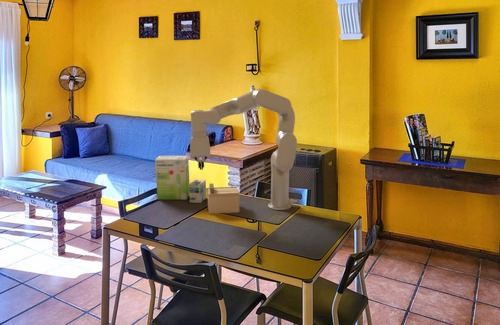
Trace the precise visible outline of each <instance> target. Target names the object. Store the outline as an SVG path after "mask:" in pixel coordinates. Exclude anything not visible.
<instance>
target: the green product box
mask: <svg viewBox="0 0 500 325" xmlns="http://www.w3.org/2000/svg"><path fill="white" fill-rule="evenodd" d="M154 163H155V164H154V165H155V179H156V183H155V184H156V195H157V200H188V199H189V197H190V190H189V184H190V167H189V165H190V163H189V155H159V156H157V157H156V158H155V159H154Z"/></svg>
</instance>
